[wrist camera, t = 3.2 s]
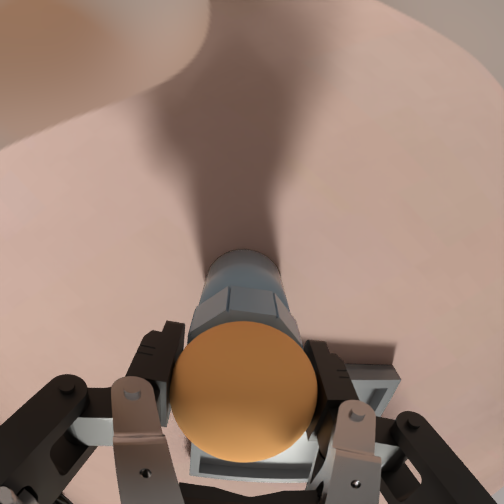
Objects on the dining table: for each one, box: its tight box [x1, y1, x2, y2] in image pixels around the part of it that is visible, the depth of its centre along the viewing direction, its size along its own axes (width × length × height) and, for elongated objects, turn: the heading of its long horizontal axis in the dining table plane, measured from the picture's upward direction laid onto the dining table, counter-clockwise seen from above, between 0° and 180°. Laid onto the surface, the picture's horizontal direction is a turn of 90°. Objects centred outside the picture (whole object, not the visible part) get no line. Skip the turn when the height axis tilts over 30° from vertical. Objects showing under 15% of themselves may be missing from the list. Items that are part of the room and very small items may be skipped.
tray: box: [189, 364, 401, 483], centre depth 22 cm, size 14×14×2 cm
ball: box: [169, 321, 318, 462], centre depth 10 cm, size 5×5×5 cm
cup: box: [187, 249, 304, 350], centre depth 15 cm, size 4×4×7 cm
